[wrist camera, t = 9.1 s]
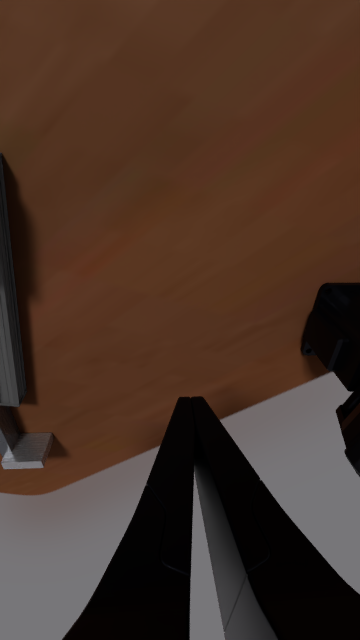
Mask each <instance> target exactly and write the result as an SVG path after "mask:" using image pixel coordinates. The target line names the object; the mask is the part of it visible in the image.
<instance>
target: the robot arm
mask: <svg viewBox="0 0 360 640" xmlns="http://www.w3.org/2000/svg"><path fill="white" fill-rule="evenodd" d="M328 288H329V290H328V291H327V292H325V291H326V290H327V289H328ZM307 349H308V350H307ZM301 351H302V352H303V354H304V355H317V356H318V358H319V359H320V360H321V362H322V363H323V365H324V366H325V367H326V369H327V370H328V371H333V372H334V373H335V374H336V376H337V377H338V378H339V380H340V381H341V382H342V384H343V385H344V386H345V388H346V389H347V390H348V391H350V392H351V391H352V392H353V391H354V392H353V393H352V394H351V395H350V397H349V398H348V399H347V400H346V402H345V403H344V404H343V405H340V406H339V407H338V408H337V409H336V413H337V417H338V421H339V424H340V428H341V432H342V436H343V438H344V442H345V445H346V449H345V454H346V457H347V459H348V460H349V462H350V463H351V465H352V466H353V468H354V469H355V471H356V473H357V474H358V475H359V476H360V283H325V284H323V285H322V286H321V287H320V289H319V292H318V295H317V299H316V302H315V305H314V308H313V310H312V312H311V314H310V317H309V321H308V324H307V327H306V330H305V333H304V340H303V344H302V347H301ZM194 472H195V477H196V482H197V488H198V494H199V499H200V505H201V509H202V515H203V521H204V526H205V532H206V537H207V542H208V548H209V553H210V559H211V564H212V570H213V575H214V581H215V585H216V591H217V596H218V602H219V608H220V612H221V618H222V624H223V629H224V632H225V633H224V635H225V640H360V594H358V593H357V592H356V591H355V590H354V589H353V588H352V587H351V586H349V585H348V584H347V583H346V582H345V581H344V580H343V579H342V578H341V577H340V576H339V575H338V574H337V572H336V571H335V570H334V569H333V568H332V567H331V566H330V564H329V563H328V562H327V561H326V560H325V558H324V557H323V556H322V555H321V554H320V553H319V552H318V550H317V549H316V548H315V547H314V546H313V545H312V543H311V542H310V541H309V540H308V539H307V538H306V536H305V535H304V534H303V533H302V532H301V531H300V529H298V527H297V526H296V525H295V523H294V522H293V521H292V520H291V519H290V518H289V516H288V515H287V514H286V513H285V511H284V510H283V509H282V508H281V506H280V505H279V504H278V502H277V501H276V500H275V498H274V497H273V496H272V494H271V493H270V491H269V490H268V489H267V487H266V486H265V484H264V483H263V482H262V480H260V478H259V476H258V475H257V473H256V472H255V470H254V469H253V468H252V466H251V465H250V463H249V462H248V460H247V459H246V457H245V456H244V455H243V453H242V452H241V450H240V449H239V447H238V446H237V445H236V443H235V442H234V440H233V439H232V438H231V436H230V435H229V433H228V432H227V431H226V429H225V428H224V426H223V425H222V423H221V422H220V420H219V419H218V418H217V416H216V415H215V413H214V412H213V410H212V409H211V408H210V406H209V405H208V403H207V402H206V400H205V399H204V398H203V397H201V396H197V397H191V398H190V397H179V398H178V400H177V403H176V406H175V408H174V411H173V414H172V416H171V419H170V422H169V424H168V427H167V430H166V432H165V435H164V438H163V440H162V443H161V446H160V448H159V451H158V454H157V456H156V459H155V462H154V465H153V467H152V470H151V473H150V475H149V478H148V480H147V483H146V486H145V488H144V491H143V493H142V496H141V498H140V501H139V503H138V506H137V508H136V511H135V513H134V515H133V518H132V520H131V522H130V524H129V526H128V528H127V530H126V532H125V534H124V537H123V538H122V540H121V542H120V544H119V546H118V548H117V550H116V552H115V554H114V556H113V557H112V559H111V561H110V563H109V565H108V567H107V569H106V571H105V573H104V575H103V577H102V579H101V581H100V583H99V585H98V587H97V588H96V590H95V592H94V594H93V595H92V597H91V599H90V600H89V602H88V604H87V606H86V607H85V609H84V610H83V612H82V613H81V615H80V616H79V618H78V619H77V620H76V622H75V623H74V624H73V626H72V627H71V629H70V630H69V631H68V633H67V634H66V635H65V637H64V638H63V639H62V640H190V639H189V638H190V636H189V635H190V577H191V548H192V545H191V544H192V515H193V485H194Z"/></svg>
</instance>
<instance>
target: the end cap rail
mask: <svg viewBox="0 0 360 640" xmlns="http://www.w3.org/2000/svg"><path fill="white" fill-rule="evenodd" d="M53 440H54V438H53V435H52V433H24V434H21V433H20V431H19V429H18V426H17V424H16V421H15V419H14V417H13V414H12V412H11V410H10V407H9V406H3V405H0V453H1V455H2V457H3V459H2V461H1V464H2V466H3V468H4V469H22V468H44V465H45V462H46V459H47V457H48V454H49V451H50V448H51V446H52V443H53Z"/></svg>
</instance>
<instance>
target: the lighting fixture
mask: <svg viewBox="0 0 360 640" xmlns="http://www.w3.org/2000/svg"><path fill="white" fill-rule="evenodd" d="M26 393H27V390H26V381H25V371H24V362H23V353H22V343H21V334H20V324H19V315H18V306H17V296H16V287H15V278H14V268H13V259H12V249H11V240H10V231H9V221H8V212H7V203H6V193H5V184H4V174H3V165H2V153H0V405H3V406H15V407H19V406H20V404H21V402H22V400H23V399H24V397H25V395H26Z"/></svg>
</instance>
